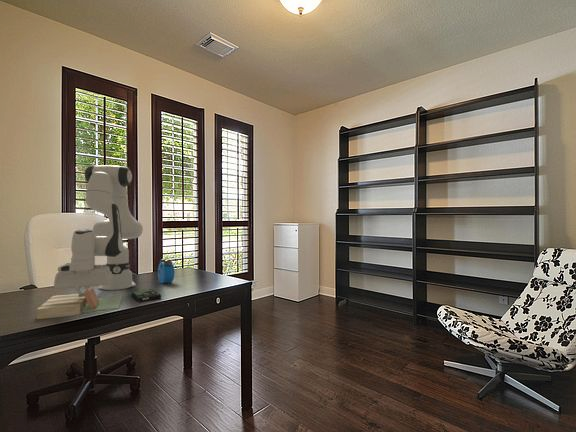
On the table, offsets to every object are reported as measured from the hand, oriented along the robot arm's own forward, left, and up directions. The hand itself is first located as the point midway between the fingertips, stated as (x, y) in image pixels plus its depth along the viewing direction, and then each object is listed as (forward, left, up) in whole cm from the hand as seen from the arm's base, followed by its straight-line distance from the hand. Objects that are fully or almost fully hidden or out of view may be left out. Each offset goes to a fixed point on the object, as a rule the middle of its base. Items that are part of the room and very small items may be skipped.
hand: (82, 296), depth 133 cm
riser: (0, -6, -5) cm, 8 cm away
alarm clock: (-40, +37, -5) cm, 55 cm away
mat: (-3, +8, -5) cm, 10 cm away
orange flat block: (0, +3, -1) cm, 3 cm away
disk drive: (-8, +26, -6) cm, 28 cm away
